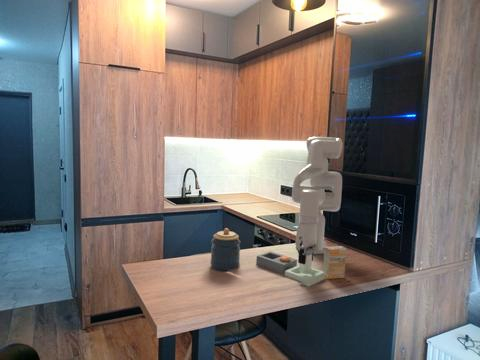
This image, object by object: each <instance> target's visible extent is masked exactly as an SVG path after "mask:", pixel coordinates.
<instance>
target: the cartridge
mask: <svg viewBox="0 0 480 360" xmlns="http://www.w3.org/2000/svg"><path fill="white" fill-rule="evenodd" d="M301 249H302V250H303V248H301ZM312 254H313V249H312V248H310V247H307V248H306V252H305V255H306V262H305V264H301V263H299V264H298V265H299V272H300V273H303V274H310V273H311V268H312V265H313V264H312V262H313V261H312ZM313 255H314V254H313Z"/></svg>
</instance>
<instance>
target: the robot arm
mask: <svg viewBox="0 0 480 360" xmlns="http://www.w3.org/2000/svg"><path fill="white" fill-rule="evenodd" d="M306 149H307V152H308V154H307V159H306V165H305V167H304V168H302V169H301V170H300V171H299V172H298V173H297V174H296V176H295V177H294V179H293V184H292V189H291V199H292V202H294V203H295V204H300V205H299V219H298V220H299V221H298V224H297V228H296V235H295V243H294V244H295V250H296V251H297V254H298V256H297V257H298V259H297V262H298V263H301V264H305V262H306V255H305V252H306V248H307V247H310V248H312V249H313V254H312V262H313V261H314V255H324V249H325V246H326V245H327V242H326V241H325V228H326V227H325V226H326V218H325V216H324V214H323V212H324V211H325V212H326V211H327V212H338V211H339V210H340V209H341V204H342V191H343V176H342V174H341V172H339V171H330V170H329V160H328V159H339V158H340V157H341V155H342V151H343V140H342V139H341V138H340V137H330V136H312V137H309V138H307V140H306ZM306 180H309V181H310V182H309V185H310V186H302V185H301V184H302V183H303V182H304V181H306ZM325 190H326V191H328V190H329V192H326V191H325ZM330 191H331V192H330ZM322 211H323V212H322ZM301 248H303V250H302V249H301ZM298 263H297V264H298Z"/></svg>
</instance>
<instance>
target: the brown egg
mask: <svg viewBox="0 0 480 360" xmlns="http://www.w3.org/2000/svg"><path fill="white" fill-rule="evenodd" d="M290 258H291V257H289V256H288V255H284V256H281V257H280V260H281V261H283V262H288V261H290Z"/></svg>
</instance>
